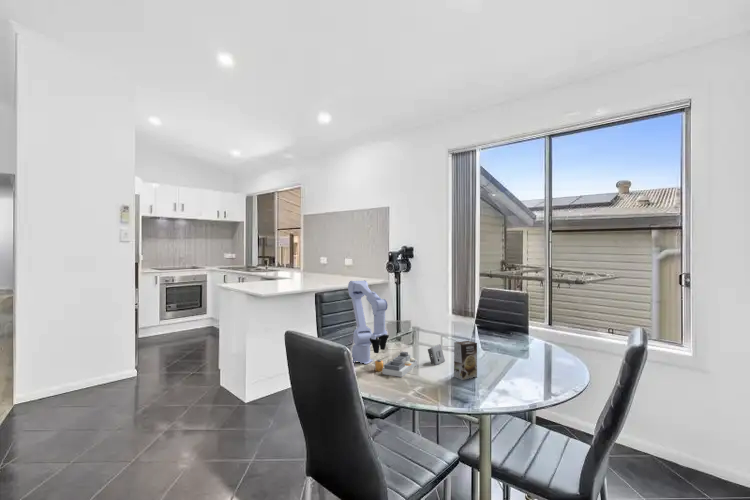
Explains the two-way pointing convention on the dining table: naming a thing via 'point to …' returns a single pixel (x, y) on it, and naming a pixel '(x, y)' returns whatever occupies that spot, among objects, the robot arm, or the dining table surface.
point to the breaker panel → (399, 366)
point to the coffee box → (465, 359)
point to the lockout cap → (378, 365)
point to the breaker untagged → (404, 354)
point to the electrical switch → (436, 354)
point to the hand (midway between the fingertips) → (379, 351)
